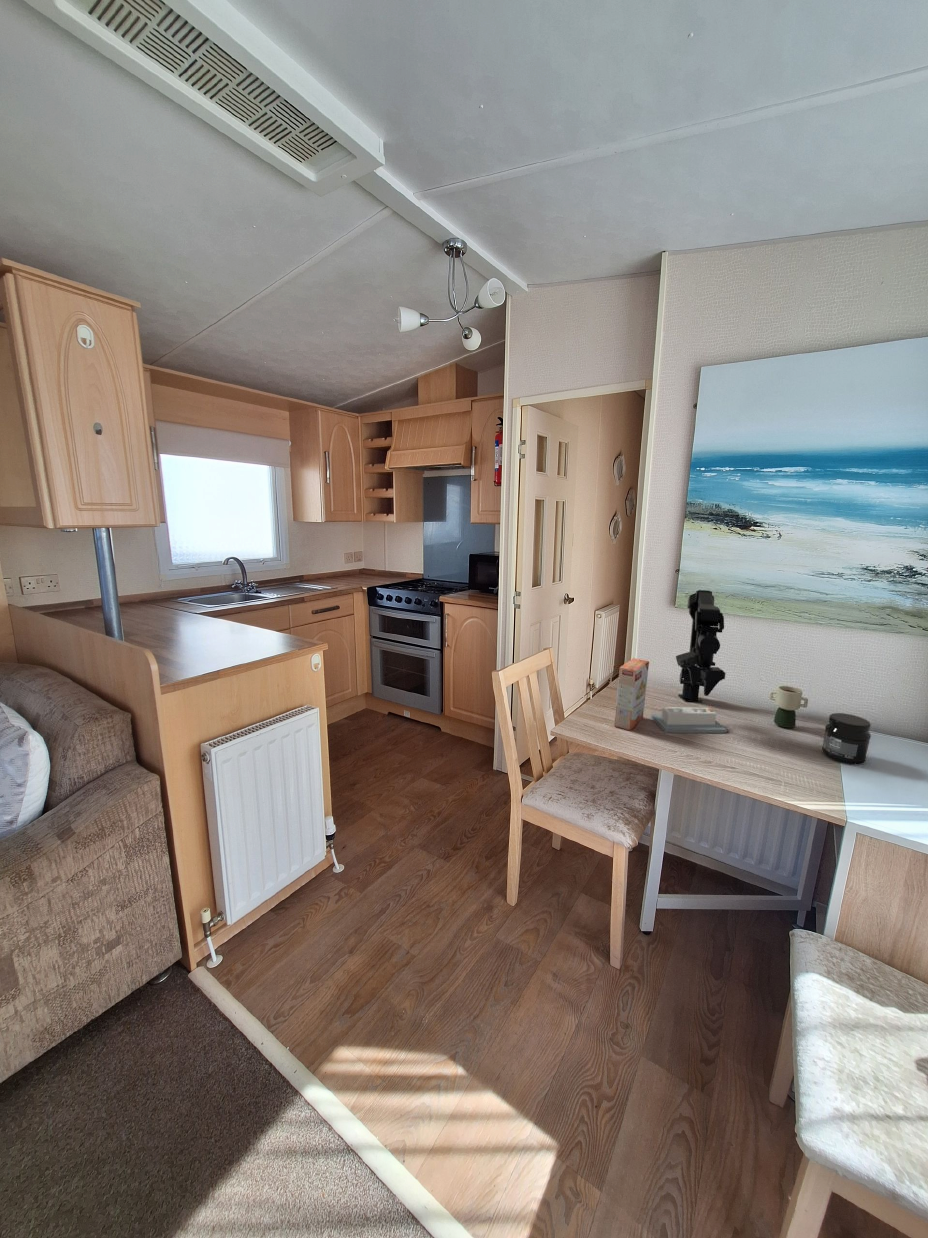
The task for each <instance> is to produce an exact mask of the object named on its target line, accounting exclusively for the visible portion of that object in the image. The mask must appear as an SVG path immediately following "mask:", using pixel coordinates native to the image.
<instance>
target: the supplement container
mask: <svg viewBox="0 0 928 1238" xmlns="http://www.w3.org/2000/svg"><path fill="white" fill-rule="evenodd" d="M871 726H872V724H871V722H870V721H869V720H867V719H866V718H863V717H861V716H858V715H853V714H849V713H843V712H841V713H840V712H835V713H831V714H830V715H829V716H828V723H826V724H825V726H824V728H825V730H824V736H823V742H822V745H821V752H822V753H823V754H824V755H825V757H827V758H829V759H831V760H832V761H835V762H838V763H841V764H845V763H846V764H847V765H852V764H857V765H863V764H864V763H865V762H866V761H867V756H868V749H869V745H870V740H871V738H872V735H871V731H870V730H871Z"/></svg>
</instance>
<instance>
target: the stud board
mask: <svg viewBox="0 0 928 1238" xmlns="http://www.w3.org/2000/svg"><path fill="white" fill-rule="evenodd" d="M674 712H680V711H679V710H674ZM697 712H704V711H703V710H698V711H697ZM650 719H652V720H653V722H655V723H656V724H657V725H658V726H659V727H660V729H661V730H662V731H663V732H664V733H665V734H667V733H668V734H670V733H674V734H675V733H677V734H680V733H681V734H683V733H684V734H685V733H687V734H688V733H690V734H692V733H693V734H695V733H697V734H706V733H708V734H710V733H711V734H714V733H715V734H726V733H727V728H725V727H724V726H723V725H722V724H721V723H719V722H718V721H717V720H715V725H667V724H666V723H665V722H664V721H663V720H662V719H661V713H659V714H658V713H657V714H656V713H653V714H651V715H650Z"/></svg>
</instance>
